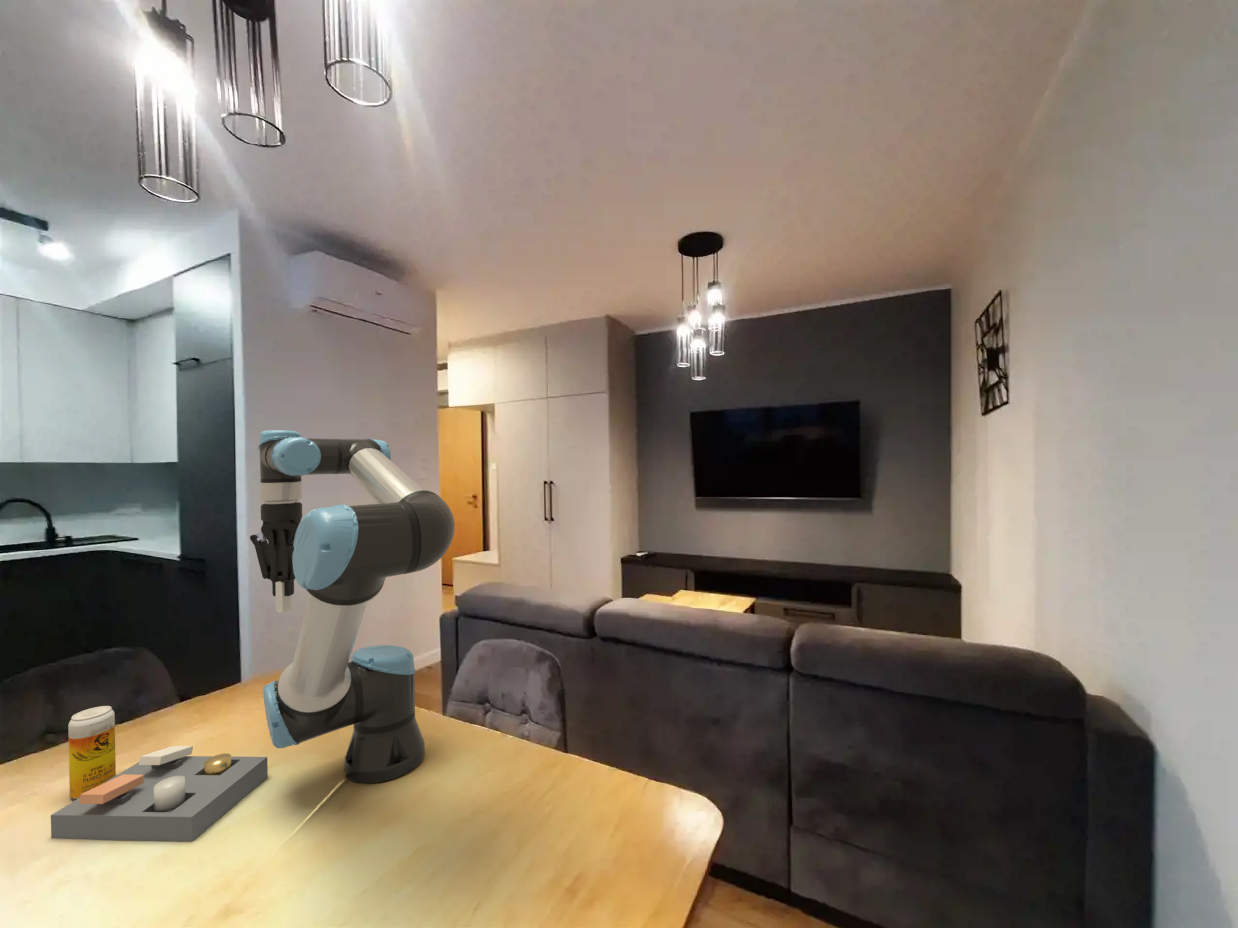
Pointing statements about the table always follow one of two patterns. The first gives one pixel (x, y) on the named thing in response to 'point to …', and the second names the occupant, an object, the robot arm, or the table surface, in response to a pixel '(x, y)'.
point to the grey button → (169, 793)
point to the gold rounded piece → (217, 764)
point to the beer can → (91, 749)
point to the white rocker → (165, 755)
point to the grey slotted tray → (184, 822)
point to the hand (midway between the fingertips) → (283, 610)
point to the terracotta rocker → (111, 789)
